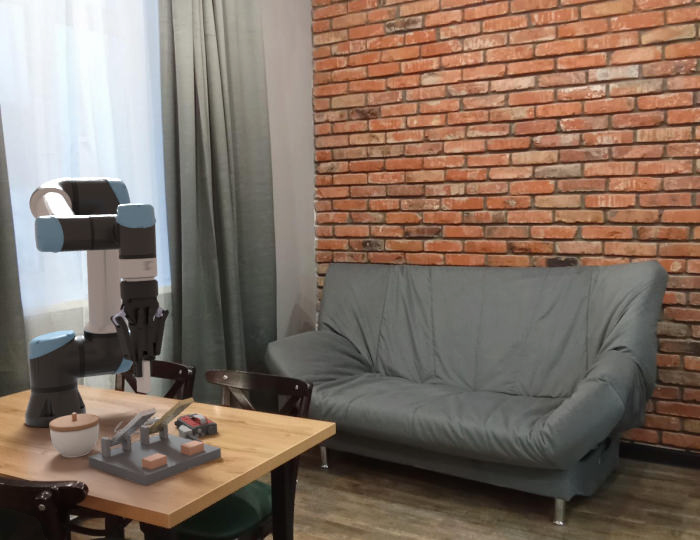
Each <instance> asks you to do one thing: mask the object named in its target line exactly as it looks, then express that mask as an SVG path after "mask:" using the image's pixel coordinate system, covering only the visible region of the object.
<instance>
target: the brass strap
mask: <svg viewBox="0 0 700 540" xmlns="http://www.w3.org/2000/svg"><path fill="white" fill-rule="evenodd" d="M193 403H195V400H194V398H193V397H188V398H185V399H182V400H179V401H178V402H177V403H176V404H174V405H173V406H172V407H171V408H169V409H168V411H167V412H165V413H164V414H163V415H162V416H161V417H159V418H160V419H159V420H158V421H156V422H155V423H152V424H153V425H152V424H151V425H150V427H149V436H150V435H151V436H152V435H155V434H157V433H158V434H159V432H161V431H162V429H163V428H164V427H165V426H166V425H167V424H168V425H169V424H170V423H171V422H173V420H174V419H177V418H178V416H179V415H181V413H183V412H184V411H185V410H186V409H187V408H189V406H191V405H192V404H193Z"/></svg>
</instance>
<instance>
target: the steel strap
mask: <svg viewBox="0 0 700 540" xmlns="http://www.w3.org/2000/svg"><path fill="white" fill-rule="evenodd" d="M155 414H157V410H156V408H155V407H153V408H150V409H144V410H142V411H140V412H139V413H138V414H137V415H135V417H133V418H132V419H131V420H129V421H128V423H126V425H124V427H122V428H121V429H122V430H120V429H119V430H120V431H119V432H118V433H115V435H114V436H113V437H112V438H110V448H112V447H116V446H119V445H122V444H123V443H125V440H126V439H127V438H128V437H130V436H131V437H132V435H134V434H133V433H134V432H137V430H139V429H140V427H141V426H142V425H143V424H144V423H145V422H146V421H147V420H149V419H152V418H153V416H154V415H155Z"/></svg>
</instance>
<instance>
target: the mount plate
mask: <svg viewBox="0 0 700 540" xmlns="http://www.w3.org/2000/svg"><path fill="white" fill-rule="evenodd" d="M168 425H169V424H167V425H166V426H165V427H164V428H163V429H162V431H161V432H158V434H156V435H155V434H154V435H151V436H150V435H149V428H150V427H149V425H146V426H145V425H142V426H141V427H140V428H139V431H140V433H139V436H140V437H139V438H140V439H139V440H137V441H133V442H132V435H131V436H130V437H128V438H127V439H126V440H125V443H123V444H121V446H118V447H115V448H112V447H110V440H111V438H110V437H108V436H103V437H100V449H101V450H100V451H101V452H99V453H95V454H93V455H90V456H89V455H88V467H91V468H94V469H97V470H100V471H103V472H105V473H108V474H111V475H114V476H116V477H119V478H122V479H125V480H127V481H131V482H133V483H135V484H138V485H141V486H144V487H145V486H146V487H147V486H148V485H151V484H154V483H156V482H159V481H162V480H164V479H167V478H169V477H172V476H174V475H177V474H180V473H183V472H185V471H188V470H191V469H194V468H196V467H198V466H201V465H203V464H206V463H209V462H211V461H214V460H216V459H220V458H222V454H221V453H222V450H221V447H217V446H214V445H210V444H208V443H204V441H202V442H199V441H196V440H194V441H193V440H191V439H185V438H182V437H181V436H179V435H175V434H170V433H169V428H168V427H169V426H168ZM111 448H112V449H111Z"/></svg>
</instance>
